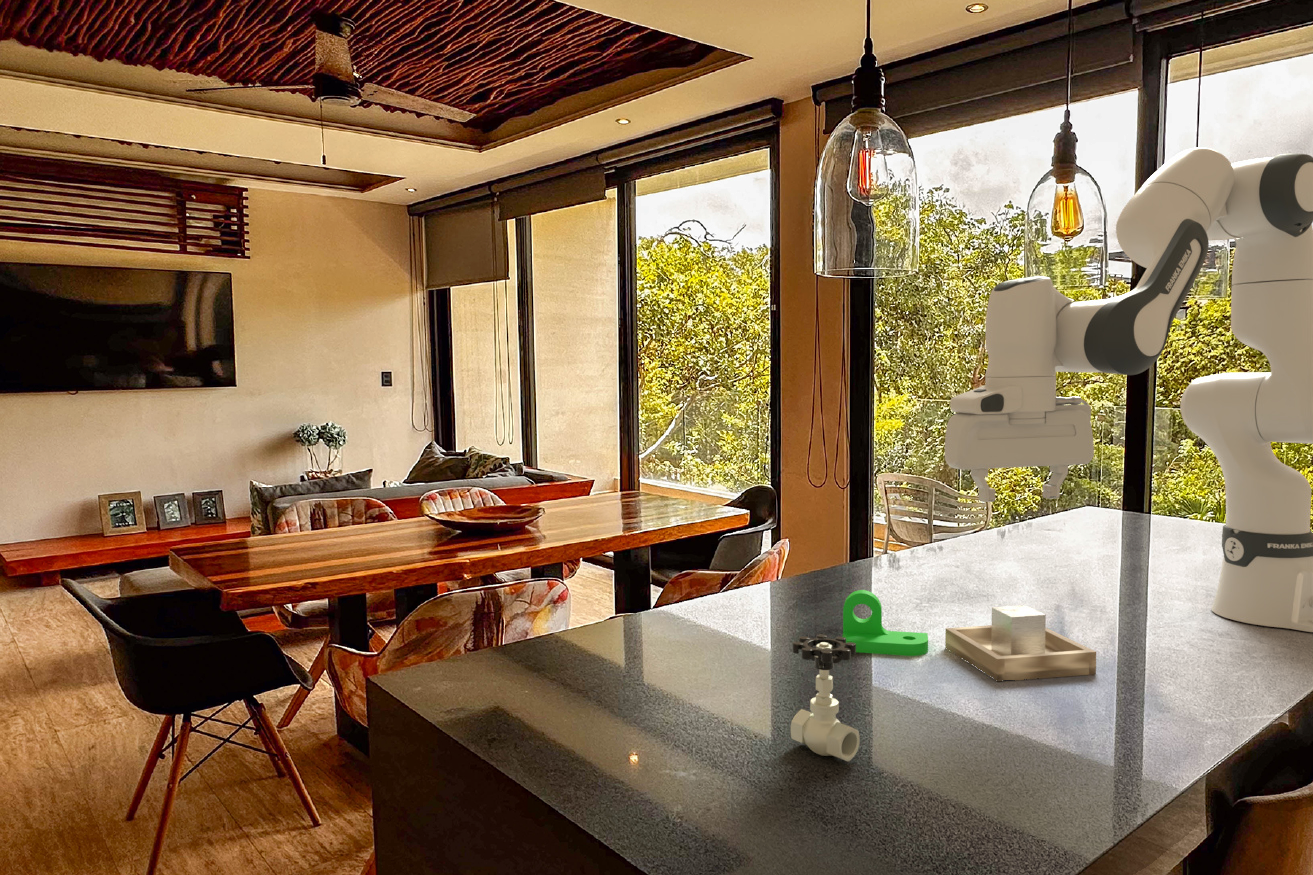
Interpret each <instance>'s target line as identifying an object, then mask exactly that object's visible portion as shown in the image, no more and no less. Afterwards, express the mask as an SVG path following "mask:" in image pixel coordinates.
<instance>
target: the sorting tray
mask: <svg viewBox="0 0 1313 875" xmlns="http://www.w3.org/2000/svg"><path fill="white" fill-rule="evenodd" d="M944 638H945V643H944V644H945V645H944V646H945V649H946V648H947V649H948V650H947V649H946V650H947V651H949V650H950V651H951V652H950V651H949V652H950V653H951V654H953V653H955V654H956V655H957V656H956V655H955V654H954V655H955V656H956V657H958V656H959V657H960V658H959V657H958V658H959V659H961V658H963V659H964V660H966V661H968V662H969V663H970V664H973V665H974V666H976V667H977V668H978V669H980V670H982V671H983V672H985V673H986V674H987V675H989V676H991V677H993V678H994V679H995V680H997V681H1002V680H1015V681H1025V680H1026V679H1027V680H1037V678H1039V679H1051V678H1062V677H1063V678H1064V677H1075V676H1076V677H1077V676H1089V675H1090V676H1091V675H1097V674H1096V673H1097V651H1095V650H1093V649H1091V648H1090V647H1087V646H1085V645H1083V644H1081V643H1079V642H1077V641H1075V640H1073V639H1071V638H1068V637H1067V636H1064V635H1062V634H1060V633H1058V632H1056V631H1053V630H1052V629H1049V628H1047V627H1046V630H1045V653H1037V654H1023V655H1010V656H1002V655H1000V654H998V653H997V652H995V651H993V650H992V649H991V638H992V624H990V625H987V624H986V625H976V626H975V625H973V626H963V627H962V626H961V627H960V626H959V627H946V628H945V637H944ZM964 660H963V661H964ZM970 664H969V665H970ZM978 669H977V670H978ZM983 672H982V673H983ZM986 674H985V675H986ZM987 675H986V676H987ZM989 676H988V677H989ZM1024 679H1025V680H1024ZM1039 679H1038V680H1039ZM995 680H994V681H995ZM997 681H996V682H997ZM1002 682H1003V681H1002Z"/></svg>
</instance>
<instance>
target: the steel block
mask: <svg viewBox="0 0 1313 875" xmlns="http://www.w3.org/2000/svg"><path fill="white" fill-rule="evenodd" d="M1046 619H1047V617H1046V614H1045V613H1042V612H1041V611H1039V610H1036V609H1034V608H1031V607H1030V606H1028V605H1024V604H1023V605H1007V606H1006V605H1005V606H995V607H994V606H993V607H991V625H992V638H991V649H992V650H993V651H995V652H997V653H998V654H1000V655H1002V656H1010V655H1023V654H1037V653H1045V630H1046V628H1047V627H1046V625H1047V623H1046V622H1047V620H1046Z"/></svg>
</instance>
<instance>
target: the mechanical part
mask: <svg viewBox="0 0 1313 875" xmlns="http://www.w3.org/2000/svg"><path fill="white" fill-rule="evenodd" d="M858 605H866V606H867V607H868V608H869V609H870V611H871V614H870V616H869V617H867V618H860V617H858V616H857V615H856V614H855V612H854V608H855V607H857V606H858ZM842 609H843V610H842V622H843V623H842V636H841V637H845V638H846V643H847V642H853V643H855V644H856V653H862V654H863V653H864V654H876V655H877V654H878V655H892V656H904V657H905V656H906V657H915V656H917V657H918V656H924V655H926V654H927V653H929V635H928V632H914V631H899V630H894V631H893V630H887V629H886V628H884V626H883V623H882V622H883V621H882V620H883V618H882V617H883V616H882V615H883V613H882V612H883V609H882V604H881V601H880V599H879V598H878V597H877V596H876V594H874V593H873V592H872V591H869V590H867V589H857V590H855V591H853V592H851V593H850V594H848V596H847V597H846V598H845V601H844V604H843V607H842Z"/></svg>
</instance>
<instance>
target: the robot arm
mask: <svg viewBox="0 0 1313 875" xmlns="http://www.w3.org/2000/svg"><path fill="white" fill-rule="evenodd" d="M1312 224H1313V156H1311V155H1310V154H1307V153H1306V154H1305V153H1280V154H1277V155H1275V156H1272V157H1270V156H1269V157H1263V158H1262V157H1261V158H1254V159H1248V160H1242V161H1237V162H1234V163H1231V162H1230V160H1229V159H1228V158H1227V157H1226V156H1225V155H1223V154H1222V153H1220V152H1219V151H1217V150H1215V149H1212V148H1207V147H1194V148H1189V149H1185V150H1183V151H1181V152H1179V153H1177V154H1176V155H1175V156H1173V157H1172V158H1170V159H1169V160H1168V161H1167V162H1165V163H1164V164H1163V165H1162V166H1161V167H1159V168H1158V170H1156V171H1155V172H1154V173H1153V174H1152V175H1150V177H1149V178H1147V180H1146V181H1145V182H1144V183H1143V184H1142V185H1141V187H1140V188H1139V189H1138V190H1137V191H1136V192H1135V194H1134V195H1133V196H1132V197H1131V198H1130V200H1129V201H1128V202H1127V203H1126V205H1125V206H1124V207H1123V209H1122V211H1121V212H1120V214H1119V216H1118V219H1117V221H1116V225H1115V234H1116V238H1117V241H1118V242H1117V243H1118V244H1119V247H1120V248H1121V250H1122V251H1123V253H1124V254H1125V255H1126V256H1127V257H1128V258H1129V259H1130V260H1131V261H1132V262H1134V263H1136V264H1137V265H1138V266H1141V267H1143V268H1145V271H1144V272H1143V274H1142V276H1141V278H1140V280H1139V281H1138V283H1137V285H1136V286H1135V287H1134V288H1133V289H1132V290H1131V291H1128V292H1126V293H1124V294H1122V295H1118V296H1115V297H1110V298H1104V299H1095V300H1083V301H1079V300H1078V301H1075V299H1072V298H1069V297H1068V296H1066V295H1064V294H1063V293H1061V292H1060V291H1059V290H1057V288H1056V287H1055V286H1054V284H1053V281H1052V279H1051V277H1050V276H1049V277H1048V276H1045V275H1034V276H1027V277H1021V278H1016V279H1010V280H1006V281H1002V282H1001V283H998V284H997V285H995V286H994V287H993V288H992V290H991V292H990V295H989V296H988V297H989V298H988V301H987V307H986V317H985V318H986V319H985V348H986V351H987V355H988V363H987V367H986V371H985V376H984V377H985V379H984V382H985V384H984V385H982V386H978V387H977V388H976V387H975V388H974V389H970V390H969V391H965V392H963V393H960V394H957V395H954V396H953V397H951V399H950V403H949V407H950V410H951V411H952V412H953V413H954V414H953V415H952V416H950V418H949V420H948V421H947V423H946V424H947V425H946V428H945V429H946V431H945V438H944V460H945V462H946V463H947V465H948V466H949V467H950V469H956V470H963V471H964V470H970V477H971V478H972V480H973V482H974V484H975V485H976V487H977V488H978V501H979V502H983V503H991V502H992V503H993V502H995V501H996V496H995V495H996V488H993V487H990V486H989V483H988V481H987V480H986V477H989V469H1005V468H1007V469H1008V468H1027V467H1028V468H1029V467H1049V472H1052V474H1051V476H1050V479H1049V481H1048V483H1046V484H1042V492H1041V493H1042V497H1043V498H1044V499H1048V500H1049V499H1050V500H1051V499H1059V498H1060V497H1061V495H1060V494H1061V493H1060V490H1061V488H1060V487H1061V486H1062V484H1063V483H1064V481H1065V479H1066V478H1067V476H1068V474H1069V466H1071V465H1072V466H1073V465H1089V463H1090V462H1091V461H1092V460H1093V458H1094V456H1095V444H1094V436H1093V429H1092V424H1091V423H1092V422H1091V421H1092V419H1091V418H1092V409H1091V406H1090V404H1089V403H1088V402H1087V401H1086V400H1085V399H1082V397H1080V396H1076V395H1075V396H1069V397H1064V396H1057V395H1056V394H1057V376H1056V375H1057V372H1059V373H1105V374H1114V375H1122V376H1123V375H1125V376H1135V375H1139V374H1141V373H1143V372H1145V371H1146V370H1148V369H1149V368H1150V367H1151V366H1153V365H1154V363H1155V362H1156V361H1157V360H1158V359H1159V357H1161V355H1162V353H1163V351H1164V349H1165V347H1166V344H1167V341H1168V337H1169V334H1170V329H1171V327H1172V325H1173V322H1174V320H1175V318H1176V315H1177V314H1178V312H1179V310H1180V308H1181V307H1182V304H1183V303H1184V301H1185V299H1186V297H1187V296H1188V294H1189V292H1190V291H1191V288H1192V286H1193V285H1194V283H1195V282H1196V279H1197V278H1198V275H1199V273H1200V272H1201V269H1202V267H1203V266H1204V263H1205V261H1206V258H1207V255H1208V252H1209V241H1225V240H1227V241H1228V240H1234V242H1235V251H1234V255H1233V260H1232V261H1233V264H1232V270H1231V271H1232V273H1231V291H1230V292H1231V296H1230V297H1231V301H1230V330H1231V332H1232V333H1233V335H1234V337H1235V338H1236V340H1238V341H1239V342H1240V343H1242V344H1244V345H1246V346H1248V347H1249V348H1252V349H1253V350H1257V351H1259V352H1261V353H1262V354H1263V355H1264V356H1265V357H1266V359H1267V361H1268V363H1269V366H1270V371H1269V372H1267V371H1264V372H1262V371H1258V372H1257V371H1254V372H1253V371H1252V372H1250V371H1249V372H1245V371H1244V372H1237V371H1236V372H1223V373H1217V374H1210V375H1206V376H1201V377H1197V378H1195V379H1193V380H1192V381H1191V382H1190V384H1188V386H1187V387H1186V388H1185V390H1184V392H1183V394H1182V396H1181V400H1180V406H1179V408H1180V414H1181V418H1182V420H1183V423H1184V424H1185V425H1186V427H1187V428H1188V429H1189V430H1190V431H1191V432H1192V433H1193V434H1195V435H1196V436H1197V437H1199V438H1200V439H1201V440H1202V441H1203V442H1205V444H1206V445H1207V446H1208V448H1210V449H1209V450H1211V452H1212V453H1213V454H1214V456H1215V458H1216V459H1217V462H1218V463H1219V464H1218V465H1219V466H1220V469H1221V472H1222V475H1223V479H1224V490H1225V525H1223V526H1222V534H1221V548H1222V554H1223V558H1222V559H1223V560H1222V564H1221V570H1220V575H1219V580H1218V585H1217V590H1216V594H1215V596H1214V600H1213V602H1212V606H1211V608H1210V610H1211V611H1212V612H1213V613H1214V614H1216V615H1218V616H1220V617H1222V618H1225V619H1230V620H1233V621H1237V622H1241V623H1245V624H1250V625H1256V626H1257V625H1258V626H1262V627H1263V626H1264V627H1272V628H1273V627H1274V628H1280V629H1282V628H1283V629H1291V630H1296V631H1302V632H1308V633H1313V532H1312V531H1311V507H1312V506H1311V505H1312V487H1311V484H1310V483H1309V481H1308V479H1307V478H1306V477H1305V476H1304V475H1303V474H1302V473H1301V472H1300V471H1298V470H1297V469H1295V468H1293V467H1291V466H1289V465H1287V464H1285V463H1283V462H1281V461H1280V459H1278V457H1277V456H1276V455H1275V454H1274V451H1273V448H1272V445H1271V444H1272V443H1290V444H1291V443H1293V444H1307V445H1308V444H1311V445H1312V444H1313V225H1312Z"/></svg>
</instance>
